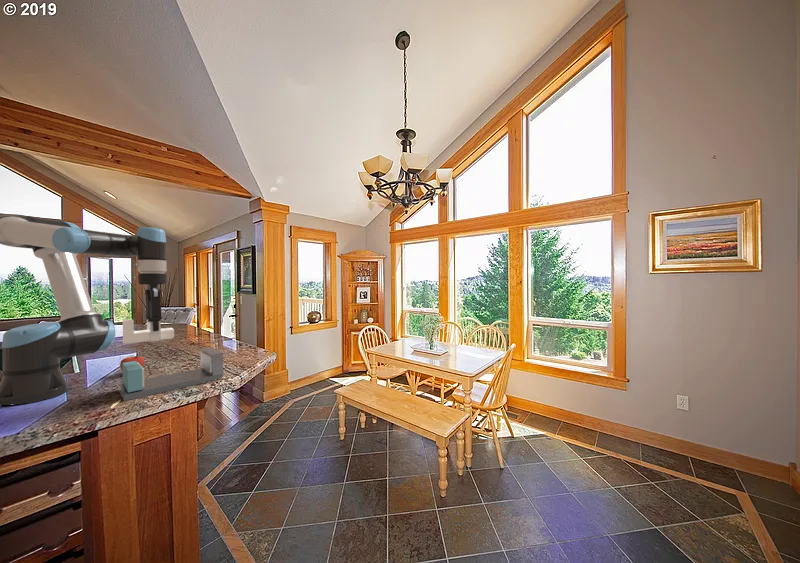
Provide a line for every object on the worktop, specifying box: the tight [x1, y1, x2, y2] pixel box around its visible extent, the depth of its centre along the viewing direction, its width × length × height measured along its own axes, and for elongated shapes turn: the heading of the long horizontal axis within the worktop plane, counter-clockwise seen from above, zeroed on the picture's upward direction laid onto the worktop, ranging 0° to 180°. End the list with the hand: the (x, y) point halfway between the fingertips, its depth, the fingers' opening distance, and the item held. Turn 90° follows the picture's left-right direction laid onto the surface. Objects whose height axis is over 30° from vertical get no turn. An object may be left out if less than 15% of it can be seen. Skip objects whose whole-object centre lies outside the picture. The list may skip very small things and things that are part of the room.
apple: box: [119, 353, 145, 372], centre depth 119 cm, size 7×7×8 cm
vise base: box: [117, 367, 224, 402], centre depth 107 cm, size 14×28×2 cm, turn 139°
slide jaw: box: [122, 361, 145, 393], centre depth 99 cm, size 13×4×7 cm, turn 49°
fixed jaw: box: [199, 346, 224, 376], centre depth 116 cm, size 14×4×8 cm, turn 49°
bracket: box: [122, 318, 175, 345], centre depth 101 cm, size 13×7×8 cm, turn 133°
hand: (153, 339), depth 101 cm, fingers closed on bracket, 7 cm apart
